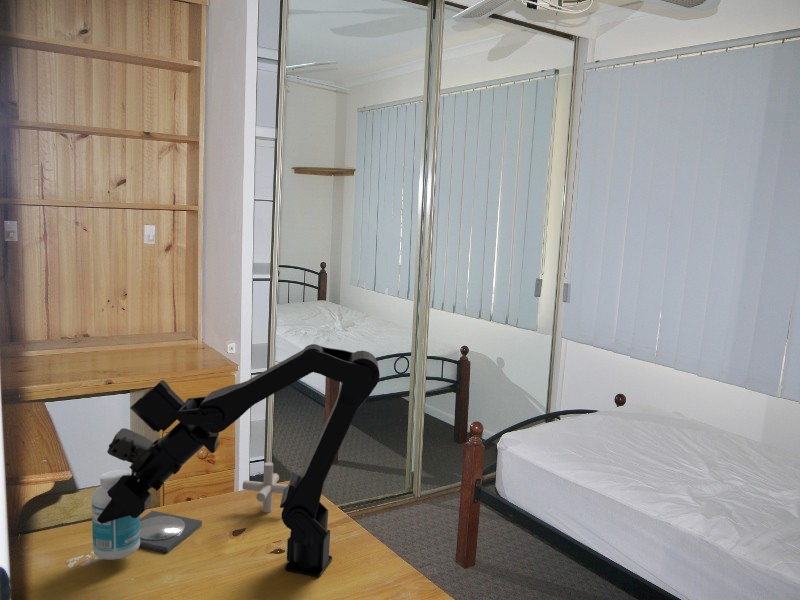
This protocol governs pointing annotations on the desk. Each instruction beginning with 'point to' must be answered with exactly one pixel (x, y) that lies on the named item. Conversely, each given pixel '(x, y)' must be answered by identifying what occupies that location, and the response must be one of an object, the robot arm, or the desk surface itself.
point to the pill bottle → (112, 524)
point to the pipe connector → (266, 487)
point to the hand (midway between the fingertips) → (107, 510)
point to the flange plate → (165, 530)
